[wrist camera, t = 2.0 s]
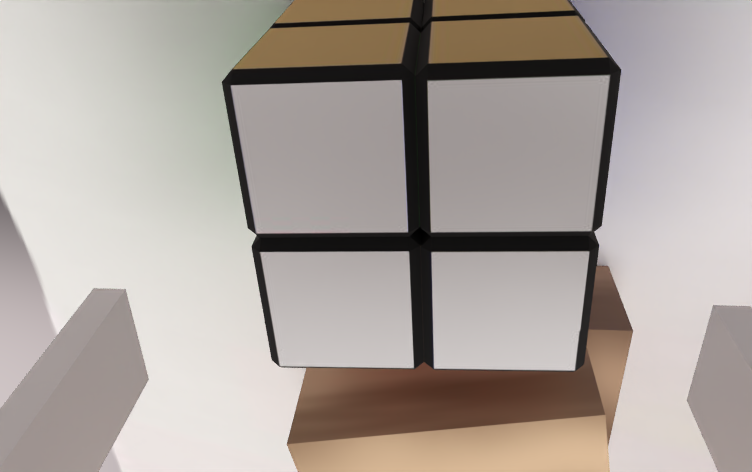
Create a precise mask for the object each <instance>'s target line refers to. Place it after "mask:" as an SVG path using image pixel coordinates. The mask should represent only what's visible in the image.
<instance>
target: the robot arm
mask: <svg viewBox="0 0 752 472" xmlns="http://www.w3.org/2000/svg"><path fill="white" fill-rule="evenodd" d="M148 380H149V379H148V375H147V371H146V367H145V363H144V359H143V355H142V351H141V348H140V344H139V340H138V336H137V332H136V328H135V324H134V320H133V317H132V313H131V309H130V305H129V301H128V297H127V293H126V289H97V288H94V289H93V290H92V291H91V293H90V294H89V295H88V296H87V298H86V299H85V300H84V302H83V303H82V304H81V305H80V307H79V308H78V309H77V311H76V312H75V313H74V314H73V316H72V317H71V318H70V320H69V321H68V322H67V323H66V325H65V326H64V327H63V329H62V330H61V331H60V332H59V334H58V335H57V336H56V338H55V339H54V340H53V341H52V343H51V344H50V345H49V347H48V348H47V349H46V350H45V352H44V353H43V354H42V356H41V357H40V358H39V360H38V361H37V362H36V363H35V365H34V366H33V367H32V369H31V370H30V371H29V373H28V374H27V375H26V376H25V378H24V379H23V380H22V381H21V383H20V384H19V385H18V387H17V388H16V389H15V390H14V392H13V393H12V394H11V396H10V397H9V398H8V400H7V401H6V402H5V403H4V405H3V406H2V407H1V409H0V472H99V470H100V468H101V466H102V464H103V462H104V460H105V459H106V457H107V455H108V453H109V451H110V450H111V448H112V446H113V444H114V442H115V440H116V439H117V437H118V435H119V433H120V431H121V429H122V427H123V426H124V424H125V422H126V420H127V418H128V416H129V415H130V413H131V411H132V409H133V407H134V405H135V404H136V402H137V400H138V398H139V396H140V394H141V392H142V391H143V389H144V387H145V385H146V383H147V381H148ZM687 402H688V404H689V406H690V408H691V411H692V413H693V415H694V418H695V420H696V422H697V424H698V427H699V429H700V431H701V433H702V436H703V438H704V440H705V443H706V445H707V447H708V449H709V452H710V454H711V456H712V458H713V461H714V463H715V465H716V468H717V470H718V472H752V308H751V307H750V306H719V305H713V308H712V312H711V315H710V319H709V322H708V326H707V330H706V333H705V337H704V340H703V344H702V348H701V351H700V355H699V358H698V362H697V366H696V369H695V373H694V376H693V380H692V383H691V387H690V391H689V394H688V398H687Z"/></svg>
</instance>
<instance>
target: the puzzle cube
mask: <svg viewBox="0 0 752 472" xmlns="http://www.w3.org/2000/svg"><path fill="white" fill-rule="evenodd" d="M620 75H621V69H620V68H619V66H618V65H617V64H616V62H615V61H614V60H613V58H612V57H611V56H610V54H609V53H608V52H607V50H606V49H605V48H604V46H603V45H602V44H601V42H600V41H599V40H598V38H597V37H596V36H595V34H594V33H593V32H592V30H591V29H590V27H589V26H588V25H587V24H586V23H585V20H584V19H583V17H582V16H581V15H580V13H579V12H578V11H577V9H576V8H575V7H574V6H573V4H572V3H571V2H570V0H294V1H293V3H292V4H291V5H290V6H289V7H288V8H287V9H286V10H285V12H284V13H283V14H282V15H281V16H280V17H279V18H278V19H277V20H276V22H275V23H274V24H273V25H272V26H271V28H270V29H269V30H268V31H267V32H266V33H265V34H264V35H263V36H262V37H261V39H260V40H259V41H258V42H257V43H256V44H255V45H254V46H253V47H252V48H251V49H250V50H249V51H248V53H247V54H246V55H245V56H244V57H243V58H242V59H241V60H240V61H239V62H238V63H237V64H236V65H235V67H234V68H233V69H232V70H231V71H230V72H229V74H228V75H227V76H226V77H225V79H224V80H223V81H222V85H223V91H224V97H225V102H226V108H227V113H228V119H229V125H230V130H231V136H232V141H233V147H234V153H235V158H236V164H237V169H238V175H239V180H240V186H241V192H242V197H243V203H244V208H245V214H246V220H247V225H248V229H250V230H251V231H252V232H254V233H255V234H256V235H257V236H256V238H255V240H254V243H253V245H252V252H253V257H254V263H255V268H256V274H257V280H258V285H259V291H260V296H261V302H262V307H263V313H264V319H265V324H266V330H267V335H268V341H269V347H270V352H271V358H272V360H273V361H274V362H275V363H276V364H277V365H278V366H279V367H290V368H360V369H416V368H417V367H418V366H419V365H421V364H422V363H423V362H425V363H426V364H427V365H429V366H430V367H431V368H432V369H434V370H474V371H544V372H574V371H576V370H578V369H579V368H580V367H581V366H583V365H584V362H585V354H586V346H587V338H588V330H589V322H590V314H591V306H592V298H593V290H594V282H595V274H596V266H597V258H598V250H599V244H598V241H597V239H596V236H595V233H594V231H596V230H597V229H598V228H599V227H601V226H602V218H603V210H604V202H605V194H606V186H607V178H608V171H609V163H610V155H611V147H612V139H613V131H614V123H615V115H616V107H617V99H618V91H619V83H620Z"/></svg>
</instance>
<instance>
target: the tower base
mask: <svg viewBox="0 0 752 472" xmlns="http://www.w3.org/2000/svg"><path fill="white" fill-rule="evenodd" d="M632 333H633V330H632V327H631V324H630V322H629V319H628V316H627V314H626V311H625V309H624V306H623V303H622V301H621V298H620V296H619V293H618V290H617V288H616V285H615V282H614V280H613V277H612V275H611V272H610V269H609V267H608V266H596V274H595V282H594V290H593V298H592V306H591V314H590V322H589V330H588V338H587V346H586V347H587V350H588V354H589V357H590V361H591V365H592V368H593V372H594V375H595V379H596V383H597V386H598V390H599V393H600V397H601V401H602V404H603V408H604V411H605V415H606V429H607V442H608V444H609V439H610V435H611V430H612V425H613V421H614V416H615V412H616V407H617V402H618V398H619V393H620V389H621V384H622V379H623V375H624V370H625V366H626V361H627V356H628V352H629V347H630V343H631V338H632Z"/></svg>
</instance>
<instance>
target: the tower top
mask: <svg viewBox="0 0 752 472" xmlns="http://www.w3.org/2000/svg"><path fill="white" fill-rule="evenodd" d="M287 446H288V448H289V451H290V453H291V456H292V458H293V461H294V463H295V466H296V468H297V471H298V472H610V470H609V456H608V442H607V429H606V415H605V411H604V408H603V404H602V401H601V397H600V393H599V390H598V386H597V383H596V379H595V375H594V372H593V368H592V365H591V361H590V357H589V354H588V350H587V347H586V354H585V362H584V365H583V366H581V367H580V368H579V369H578V370H576V371H574V372H544V371H474V370H434V369H432V368H431V367H430V366H429V365H427V364H426V363H425V362H423V363H422V364H421V365H419V366H418V367H417V368H416V369H360V368H306V372H305V376H304V380H303V384H302V388H301V391H300V395H299V399H298V403H297V407H296V411H295V415H294V419H293V422H292V426H291V430H290V434H289V438H288V442H287Z"/></svg>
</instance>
